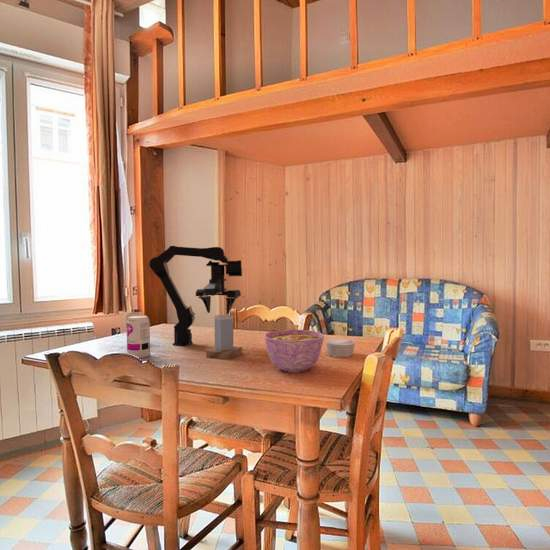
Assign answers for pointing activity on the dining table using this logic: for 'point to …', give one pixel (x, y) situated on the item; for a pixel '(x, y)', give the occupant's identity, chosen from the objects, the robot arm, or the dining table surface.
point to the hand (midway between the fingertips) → (218, 313)
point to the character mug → (131, 315)
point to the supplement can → (138, 336)
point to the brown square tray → (224, 353)
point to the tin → (224, 332)
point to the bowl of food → (294, 348)
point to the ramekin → (340, 347)
